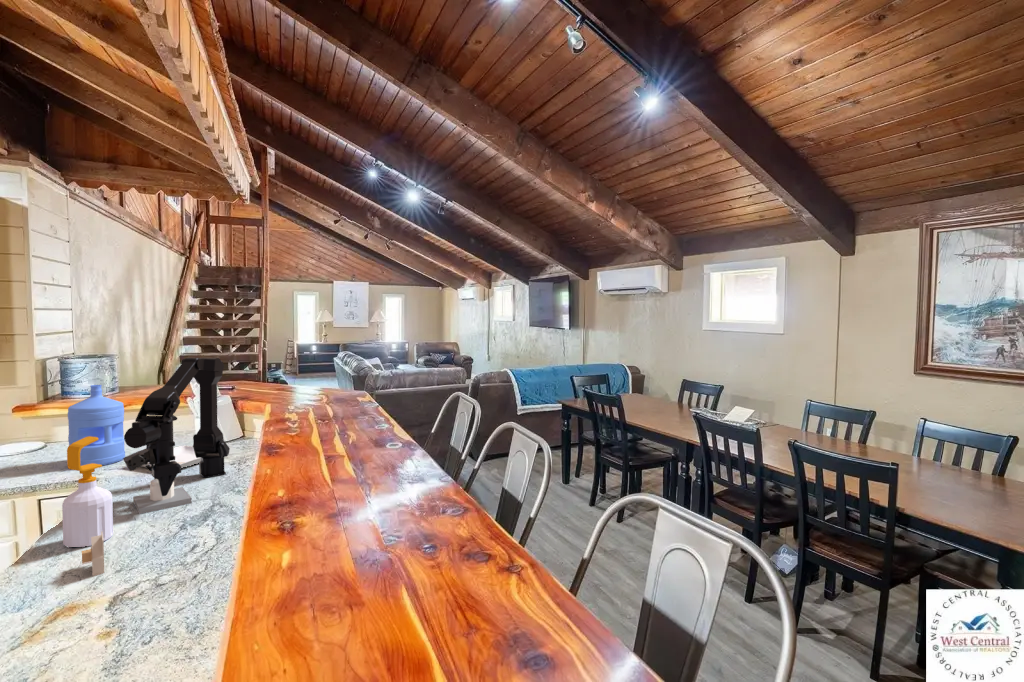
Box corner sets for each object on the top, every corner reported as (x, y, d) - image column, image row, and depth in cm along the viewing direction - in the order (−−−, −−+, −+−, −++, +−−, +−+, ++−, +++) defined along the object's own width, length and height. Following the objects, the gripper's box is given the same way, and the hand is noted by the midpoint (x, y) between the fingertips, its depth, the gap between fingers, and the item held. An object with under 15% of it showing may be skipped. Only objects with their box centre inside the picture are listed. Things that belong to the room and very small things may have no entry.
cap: (147, 501, 138) (146, 483, 138) (156, 494, 143) (155, 477, 143) (168, 499, 139) (168, 482, 139) (177, 493, 144) (176, 476, 144)
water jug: (58, 465, 174) (56, 386, 173) (109, 454, 189) (107, 381, 188) (85, 470, 168) (83, 389, 167) (134, 458, 183) (133, 384, 182)
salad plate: (171, 475, 165) (170, 465, 165) (126, 468, 172) (126, 459, 172) (225, 459, 186) (225, 450, 185) (183, 453, 192) (183, 444, 192)
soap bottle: (122, 535, 120) (120, 435, 119) (79, 551, 111) (76, 444, 110) (97, 529, 123) (95, 432, 122) (53, 545, 114) (50, 440, 113)
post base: (182, 491, 150) (182, 474, 149) (191, 502, 141) (191, 484, 141) (133, 501, 141) (132, 482, 141) (139, 514, 133) (139, 494, 132)
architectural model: (82, 581, 100) (81, 545, 100) (82, 568, 105) (81, 534, 105) (104, 575, 102) (103, 540, 102) (103, 562, 107) (102, 529, 107)
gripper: (121, 437, 141) (122, 490, 142) (130, 450, 128) (131, 509, 129) (167, 431, 149) (168, 482, 150) (181, 443, 136) (182, 498, 136)
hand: (162, 492), depth 141 cm, fingers open, 6 cm apart
